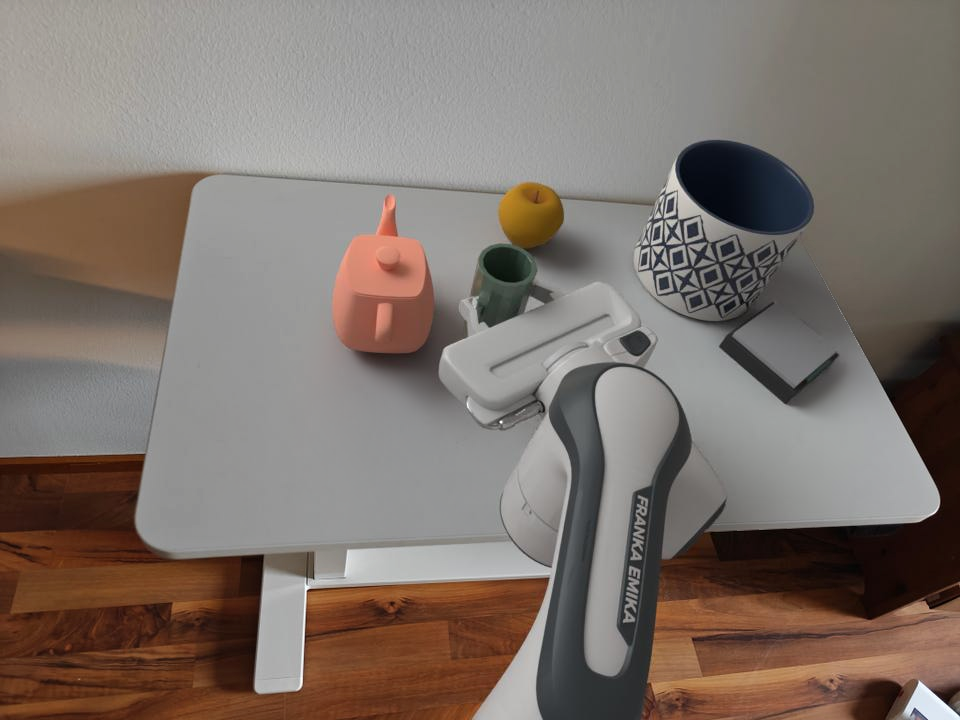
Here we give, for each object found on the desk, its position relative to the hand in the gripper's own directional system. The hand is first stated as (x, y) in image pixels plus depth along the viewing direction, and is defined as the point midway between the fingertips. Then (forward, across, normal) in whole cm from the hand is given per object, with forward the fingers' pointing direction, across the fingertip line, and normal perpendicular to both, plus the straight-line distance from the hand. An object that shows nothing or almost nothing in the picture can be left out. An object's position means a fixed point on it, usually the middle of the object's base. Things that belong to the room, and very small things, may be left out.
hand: (494, 290), depth 72 cm
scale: (-15, +39, -17) cm, 45 cm away
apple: (+17, +21, -17) cm, 32 cm away
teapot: (+14, -4, -17) cm, 22 cm away
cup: (-1, 0, -6) cm, 6 cm away
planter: (+1, +40, -17) cm, 43 cm away
